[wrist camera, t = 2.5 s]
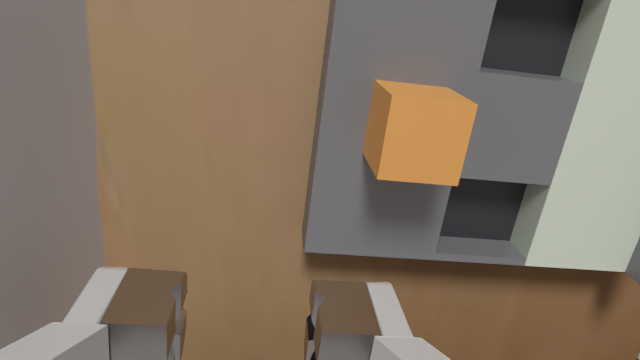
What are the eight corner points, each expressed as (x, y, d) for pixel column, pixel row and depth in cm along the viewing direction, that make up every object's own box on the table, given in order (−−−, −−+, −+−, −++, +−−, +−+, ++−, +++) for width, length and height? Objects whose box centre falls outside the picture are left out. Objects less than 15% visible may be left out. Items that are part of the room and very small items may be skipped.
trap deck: (717, -6, 27) (798, -5, 23) (613, 253, 33) (662, 290, 29) (338, -63, 24) (351, -73, 20) (301, 232, 30) (306, 270, 26)
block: (447, 87, 25) (478, 104, 21) (432, 158, 26) (457, 186, 22) (374, 79, 24) (392, 95, 21) (362, 152, 26) (376, 179, 22)
